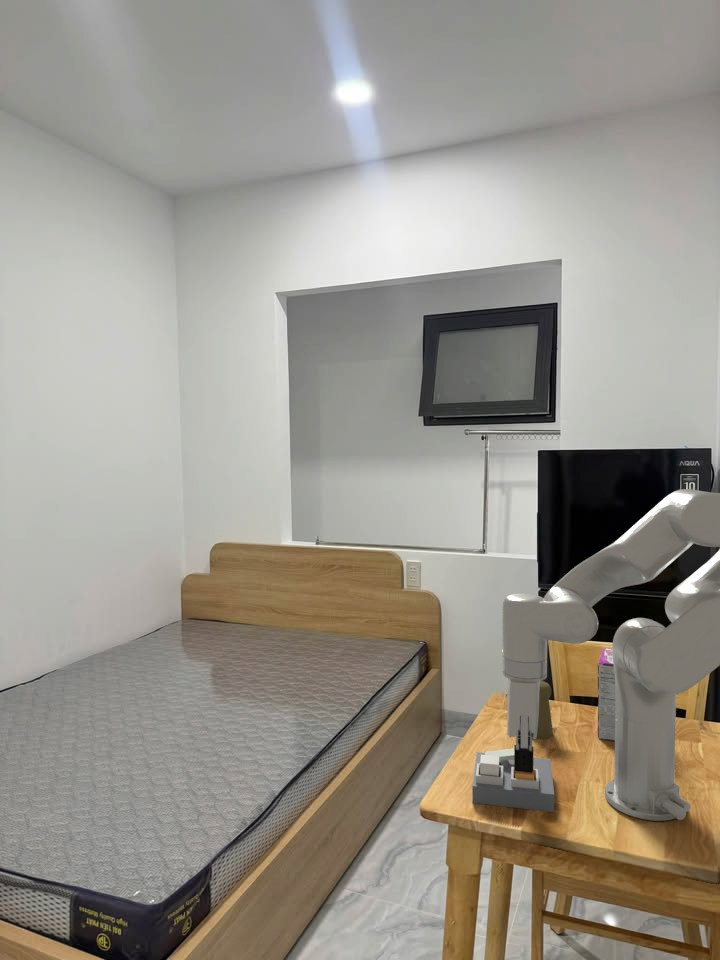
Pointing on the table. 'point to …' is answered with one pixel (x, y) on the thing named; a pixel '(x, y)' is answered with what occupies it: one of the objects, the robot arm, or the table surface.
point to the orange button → (524, 775)
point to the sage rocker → (502, 754)
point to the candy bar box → (606, 696)
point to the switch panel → (515, 786)
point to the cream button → (489, 765)
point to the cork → (544, 712)
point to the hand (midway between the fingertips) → (523, 769)
